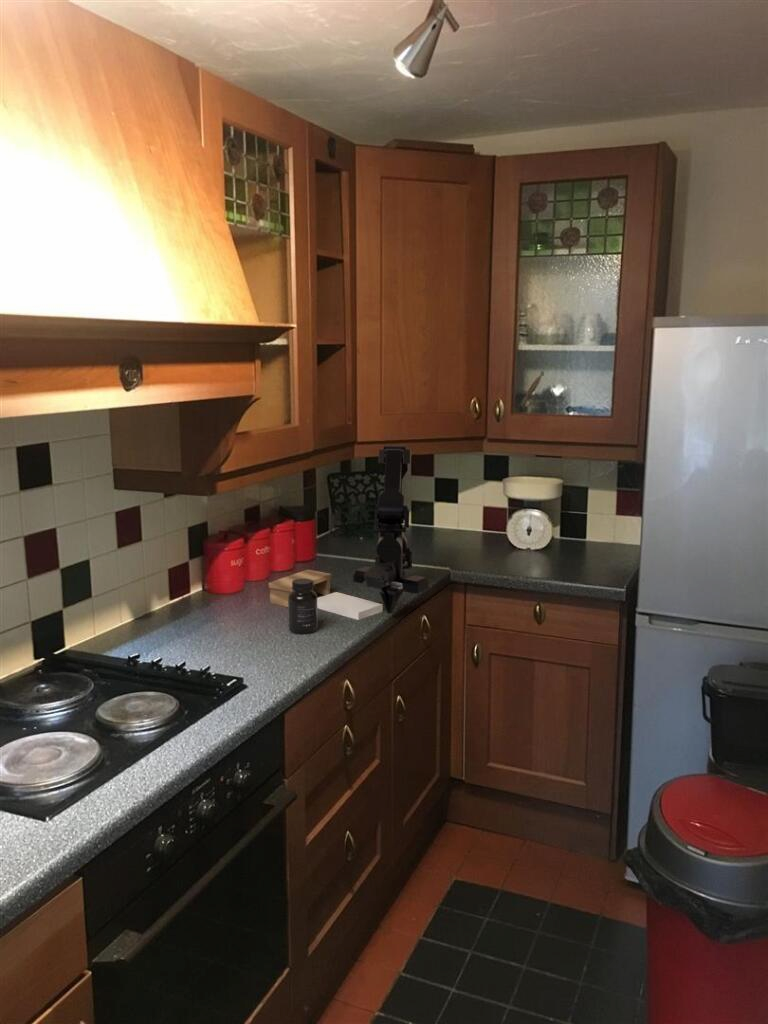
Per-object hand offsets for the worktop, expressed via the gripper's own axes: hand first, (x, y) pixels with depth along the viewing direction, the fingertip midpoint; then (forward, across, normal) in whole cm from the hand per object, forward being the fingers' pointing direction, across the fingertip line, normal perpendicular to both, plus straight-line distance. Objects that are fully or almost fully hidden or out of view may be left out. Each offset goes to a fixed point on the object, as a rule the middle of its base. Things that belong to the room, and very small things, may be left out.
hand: (389, 613), depth 212 cm
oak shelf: (+1, -28, 0) cm, 28 cm away
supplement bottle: (+2, -12, -19) cm, 23 cm away
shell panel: (+2, -13, 0) cm, 13 cm away
